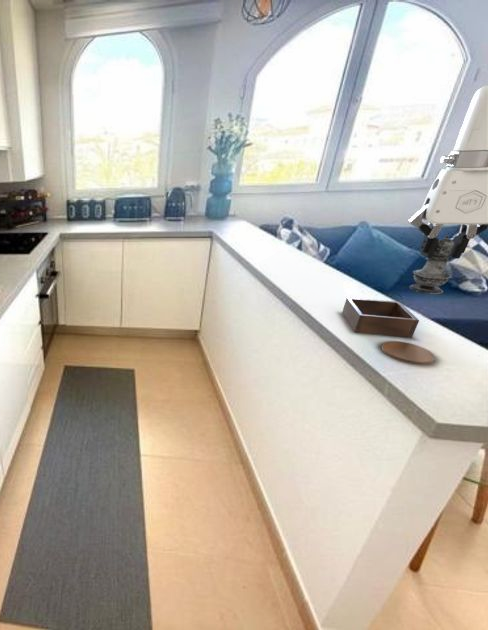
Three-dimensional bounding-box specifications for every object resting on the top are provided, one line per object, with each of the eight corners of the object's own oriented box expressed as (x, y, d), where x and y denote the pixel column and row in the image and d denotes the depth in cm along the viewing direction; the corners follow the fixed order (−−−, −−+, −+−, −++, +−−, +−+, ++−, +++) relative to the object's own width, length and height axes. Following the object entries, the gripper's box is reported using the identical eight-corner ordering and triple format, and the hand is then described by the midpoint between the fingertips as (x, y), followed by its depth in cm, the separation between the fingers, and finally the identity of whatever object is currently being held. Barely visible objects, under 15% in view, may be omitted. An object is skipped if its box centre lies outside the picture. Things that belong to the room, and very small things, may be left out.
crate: (392, 318, 94) (399, 301, 92) (411, 338, 85) (419, 320, 83) (341, 313, 99) (346, 297, 96) (354, 332, 89) (360, 315, 87)
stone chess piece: (400, 286, 77) (419, 233, 72) (424, 283, 78) (445, 230, 72) (427, 295, 72) (450, 239, 67) (453, 292, 72) (478, 236, 67)
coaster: (422, 346, 81) (423, 344, 81) (442, 367, 74) (443, 364, 74) (375, 341, 85) (376, 339, 84) (389, 360, 77) (390, 358, 77)
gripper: (429, 164, 64) (395, 259, 72) (559, 158, 57) (506, 263, 65) (411, 162, 70) (382, 250, 78) (527, 156, 64) (482, 252, 72)
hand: (439, 255), depth 72 cm, fingers closed on stone chess piece, 3 cm apart
